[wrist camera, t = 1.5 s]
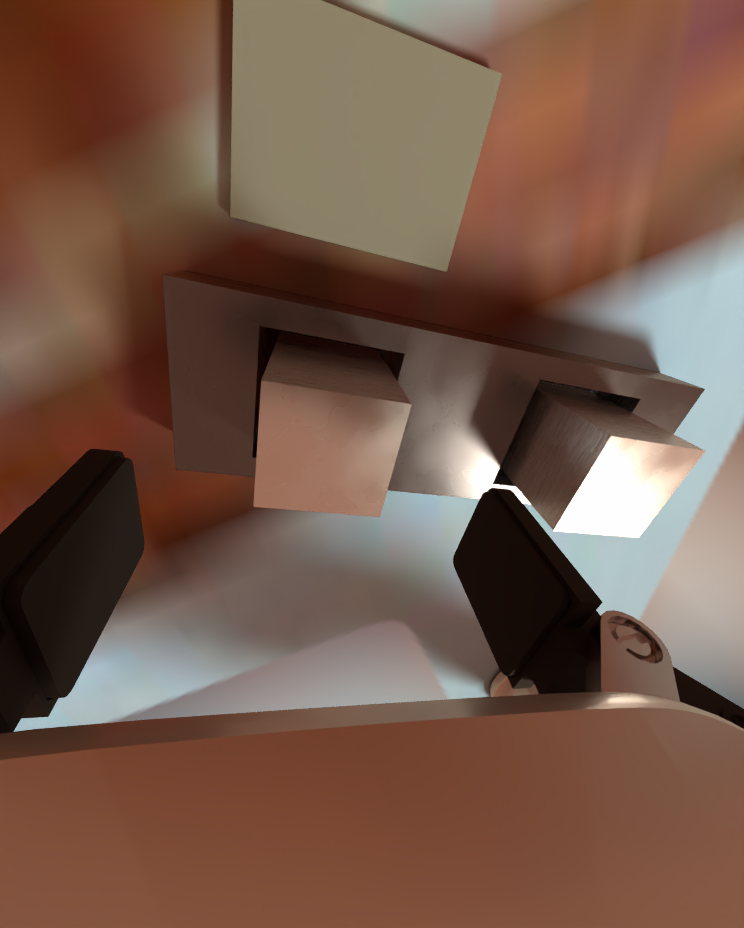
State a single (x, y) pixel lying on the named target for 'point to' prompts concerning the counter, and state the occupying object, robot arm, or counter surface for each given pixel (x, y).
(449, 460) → the board with square holes
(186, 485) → the counter surface
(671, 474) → the brown wooden block
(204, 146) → the counter surface
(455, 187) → the mat
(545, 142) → the counter surface
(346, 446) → the pale pink rectangular block
